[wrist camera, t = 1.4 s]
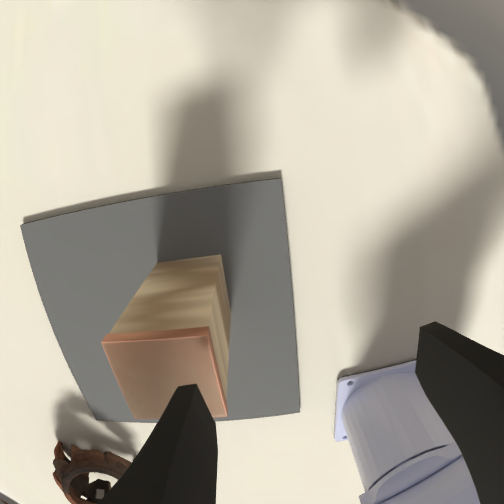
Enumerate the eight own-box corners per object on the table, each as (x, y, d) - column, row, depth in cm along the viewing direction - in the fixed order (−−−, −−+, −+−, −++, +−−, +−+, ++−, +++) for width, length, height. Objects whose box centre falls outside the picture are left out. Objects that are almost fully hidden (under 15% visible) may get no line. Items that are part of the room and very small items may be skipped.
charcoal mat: (280, 178, 18) (281, 178, 18) (299, 408, 24) (300, 412, 23) (23, 224, 19) (20, 225, 18) (97, 417, 24) (96, 420, 24)
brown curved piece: (42, 419, 25) (37, 463, 18) (122, 412, 30) (136, 454, 22) (73, 494, 26) (79, 540, 19) (142, 487, 30) (160, 530, 23)
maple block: (221, 253, 19) (207, 335, 11) (231, 314, 20) (227, 416, 12) (156, 261, 19) (101, 342, 11) (170, 320, 20) (134, 418, 12)
